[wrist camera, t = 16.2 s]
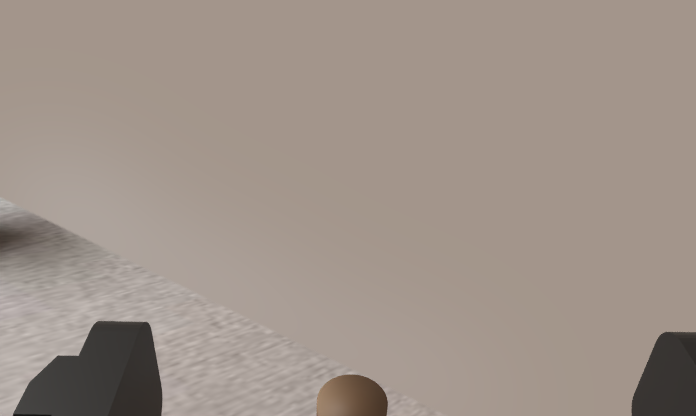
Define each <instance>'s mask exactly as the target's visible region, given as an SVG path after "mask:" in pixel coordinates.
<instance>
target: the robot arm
mask: <svg viewBox="0 0 696 416" xmlns="http://www.w3.org/2000/svg"><path fill="white" fill-rule="evenodd" d="M161 412H162V387H161V381H160V376H159V370H158V365H157V359H156V353H155V348H154V342H153V336H152V331H151V327H150V325H149V323H147V322H115V321H98V322H96V323H95V324H94V325H93V327H92V328H91V330H90V332H89V335H88V337H87V339H86V341H85V343H84V346H83V348H82V350H81V352H80V354H79V356H57V357H56V358H55V359H54V360H53V361H52V362H51V363H50V364H48V365H47V366H46V367H45V368H44V369H43V370H42V371H41V372H40V373H39V374H38V375H37V376H36V377H35V378H34V379H33V380H32V381H31V382H30V383H29V384H28V386H27V388H26V390H25V392H24V394H23V396H22V398H21V400H20V402H19V404H18V406H17V407H16V409H15V411H14V413H13V416H161ZM632 416H696V332H665V333H663V334H661V335H660V336H659V338H658V339H657V341H656V343H655V346H654V348H653V350H652V353H651V355H650V358H649V360H648V362H647V365H646V367H645V369H644V372H643V374H642V377H641V379H640V381H639V384H638V387H637V389H636V391H635V393H634V396H633V400H632Z"/></svg>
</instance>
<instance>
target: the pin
mask: <svg viewBox="0 0 696 416" xmlns="http://www.w3.org/2000/svg"><path fill="white" fill-rule="evenodd" d="M387 407H388V401H387V397H386V394H385V392H384V391H383V389H382V388H381V387H380V386H379V385H378V384H377V383H376V382H374V381H373V380H371V379H369V378H366V377H364V376H360V375H342V376H338V377H336V378H333V379H331V380H330V381H328V382H327V383H326V384H325V385H324V386H323V387H322V388H321V390H320V391H319V394H318V397H317V416H386V415H387Z"/></svg>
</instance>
